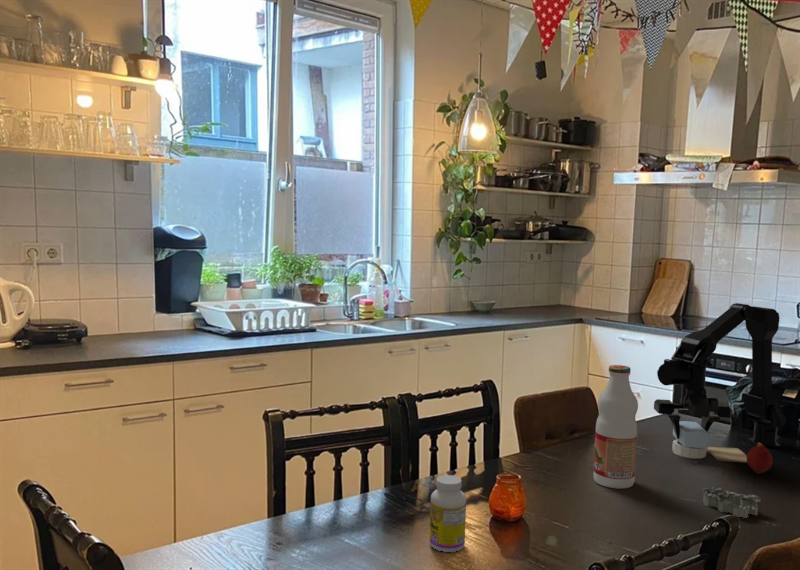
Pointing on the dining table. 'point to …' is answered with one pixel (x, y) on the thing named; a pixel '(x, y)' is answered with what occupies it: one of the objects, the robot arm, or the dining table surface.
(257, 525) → the dining table surface
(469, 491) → the dining table surface
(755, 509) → the egg carton
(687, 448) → the bowl
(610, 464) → the fruit juice
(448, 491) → the supplement bottle
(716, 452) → the mat
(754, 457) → the onion
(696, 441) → the light blue block
